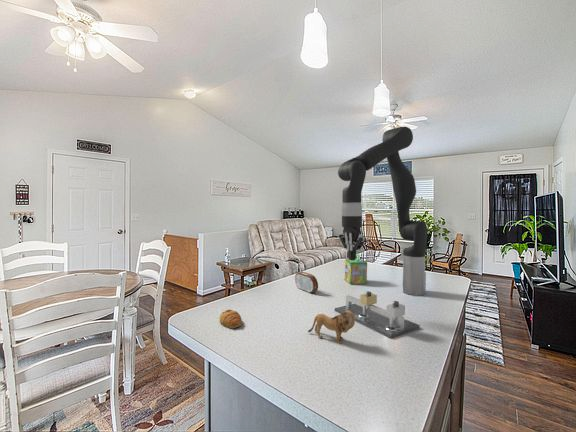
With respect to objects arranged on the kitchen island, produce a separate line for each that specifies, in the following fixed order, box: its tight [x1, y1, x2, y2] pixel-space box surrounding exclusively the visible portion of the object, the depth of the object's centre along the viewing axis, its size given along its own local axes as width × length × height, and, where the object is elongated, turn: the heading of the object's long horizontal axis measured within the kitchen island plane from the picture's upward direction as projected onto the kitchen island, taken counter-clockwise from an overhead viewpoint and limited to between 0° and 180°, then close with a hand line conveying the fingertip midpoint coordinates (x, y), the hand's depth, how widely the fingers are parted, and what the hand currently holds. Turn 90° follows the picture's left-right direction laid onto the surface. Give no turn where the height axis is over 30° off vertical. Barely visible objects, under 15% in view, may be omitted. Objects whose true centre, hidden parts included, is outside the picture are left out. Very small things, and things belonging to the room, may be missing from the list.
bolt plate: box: [334, 303, 421, 339], centre depth 99 cm, size 14×26×1 cm, turn 30°
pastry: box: [219, 309, 243, 329], centre depth 95 cm, size 9×7×4 cm
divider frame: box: [345, 294, 406, 331], centre depth 98 cm, size 5×25×8 cm, turn 30°
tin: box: [294, 270, 319, 294], centre depth 132 cm, size 15×3×8 cm, turn 34°
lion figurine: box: [307, 311, 356, 345], centre depth 84 cm, size 15×5×9 cm, turn 66°
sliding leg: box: [359, 290, 378, 315], centre depth 99 cm, size 5×3×8 cm, turn 120°
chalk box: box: [344, 253, 368, 285], centre depth 147 cm, size 9×9×15 cm
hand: (352, 260), depth 106 cm, fingers closed
